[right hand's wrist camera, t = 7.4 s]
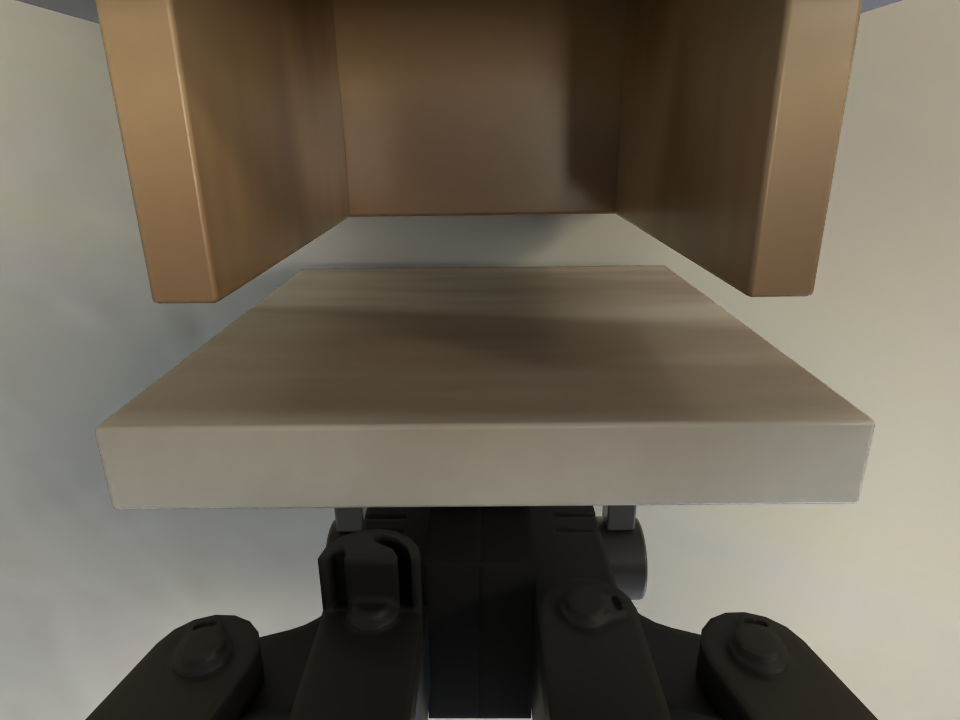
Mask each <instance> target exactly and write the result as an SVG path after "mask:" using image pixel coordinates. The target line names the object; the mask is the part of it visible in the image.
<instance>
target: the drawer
mask: <svg viewBox="0 0 960 720" xmlns="http://www.w3.org/2000/svg"><path fill="white" fill-rule="evenodd" d="M95 1H96V6H97V11H98V17H99V22H100V27H101V32H102V37H103V43H104V48H105V53H106V58H107V63H108V69H109V74H110V79H111V84H112V90H113V95H114V100H115V105H116V110H117V116H118V121H119V126H120V131H121V136H122V142H123V147H124V152H125V157H126V162H127V168H128V173H129V178H130V183H131V188H132V194H133V199H134V204H135V209H136V215H137V220H138V225H139V230H140V235H141V241H142V246H143V251H144V256H145V261H146V267H147V272H148V277H149V282H150V287H151V293H152V298H153V301H154V302H156V303H216V302H218V301H220V300H221V299H223V298H224V297H226V296H227V295H229V294H230V293H232V292H233V291H235V290H237V289H238V288H240V287H241V286H243V285H244V284H246V283H247V282H249V281H251V280H252V279H254V278H255V277H257V276H258V275H260V274H261V273H263V272H264V271H266V270H268V269H269V268H271V267H272V266H274V265H275V264H277V263H278V262H280V261H281V260H283V259H285V258H286V257H288V256H289V255H291V254H292V253H294V252H295V251H297V250H298V249H300V248H302V247H303V246H305V245H306V244H308V243H309V242H311V241H312V240H314V239H315V238H317V237H319V236H320V235H322V234H323V233H325V232H326V231H328V230H329V229H331V228H332V227H334V226H336V225H337V224H339V223H340V222H342V221H343V220H345V219H346V218H348V217H368V216H453V215H537V214H617V215H619V216H621V217H622V218H624V219H625V220H627V221H629V222H630V223H632V224H633V225H635V226H637V227H638V228H640V229H642V230H643V231H645V232H646V233H648V234H650V235H651V236H653V237H654V238H656V239H658V240H659V241H661V242H662V243H664V244H666V245H667V246H669V247H670V248H672V249H674V250H675V251H677V252H678V253H680V254H682V255H683V256H685V257H686V258H688V259H690V260H691V261H693V262H694V263H696V264H698V265H699V266H701V267H702V268H704V269H706V270H707V271H709V272H710V273H712V274H714V275H715V276H717V277H719V278H720V279H722V280H723V281H725V282H727V283H728V284H730V285H731V286H733V287H735V288H736V289H738V290H739V291H741V292H743V293H744V294H746V295H748V296H750V297H781V296H808V295H811V294H812V293H813V289H814V284H815V278H816V272H817V266H818V260H819V254H820V248H821V242H822V236H823V230H824V225H825V219H826V213H827V207H828V201H829V195H830V189H831V183H832V177H833V171H834V166H835V160H836V154H837V148H838V142H839V136H840V130H841V124H842V118H843V113H844V107H845V101H846V95H847V89H848V83H849V77H850V71H851V65H852V59H853V54H854V48H855V42H856V36H857V30H858V24H859V18H860V12H861V6H862V0H95ZM874 427H875V423H874V420H873V419H871V418H870V417H869V416H867V415H866V414H865V413H863V412H862V411H861V410H859V409H858V408H857V407H855V406H854V405H853V404H851V403H850V402H849V401H847V400H846V399H844V398H843V397H842V396H840V395H839V394H838V393H836V392H835V391H834V390H832V389H831V388H830V387H828V386H827V385H826V384H824V383H823V382H822V381H820V380H819V379H817V378H816V377H815V376H813V375H812V374H811V373H809V372H808V371H807V370H805V369H804V368H803V367H801V366H800V365H799V364H797V363H796V362H795V361H793V360H792V359H790V358H789V357H788V356H786V355H785V354H784V353H782V352H781V351H780V350H778V349H777V348H776V347H774V346H773V345H772V344H770V343H769V342H768V341H766V340H765V339H763V338H762V337H761V336H759V335H758V334H757V333H755V332H754V331H753V330H751V329H750V328H749V327H747V326H746V325H745V324H743V323H742V322H741V321H739V320H738V319H736V318H735V317H734V316H732V315H731V314H730V313H728V312H727V311H726V310H724V309H723V308H722V307H720V306H719V305H718V304H716V303H715V302H714V301H712V300H711V299H709V298H708V297H707V296H705V295H704V294H703V293H701V292H700V291H699V290H697V289H696V288H695V287H693V286H692V285H691V284H689V283H688V282H687V281H685V280H684V279H682V278H681V277H680V276H678V275H677V274H676V273H674V272H673V271H672V270H670V269H669V268H668V267H666V266H664V265H656V266H566V267H477V268H388V269H302V270H300V271H299V272H298V273H296V274H295V275H294V276H293V277H291V278H290V279H289V280H287V281H286V282H285V283H283V284H282V285H281V286H280V287H278V288H277V289H276V290H274V291H273V292H272V293H270V294H269V295H268V296H267V297H265V298H264V299H263V300H261V301H260V302H259V303H257V304H256V305H255V306H254V307H252V308H251V309H250V310H248V311H247V312H246V313H244V314H243V315H242V316H241V317H239V318H238V319H237V320H235V321H234V322H233V323H231V324H230V325H229V326H228V327H226V328H225V329H224V330H222V331H221V332H220V333H218V334H217V335H216V336H215V337H213V338H212V339H211V340H209V341H208V342H207V343H205V344H204V345H203V346H201V347H200V348H199V349H198V350H196V351H195V352H194V353H192V354H191V355H190V356H188V357H187V358H186V359H185V360H183V361H182V362H181V363H179V364H178V365H177V366H175V367H174V368H173V369H172V370H170V371H169V372H168V373H166V374H165V375H164V376H162V377H161V378H160V379H159V380H157V381H156V382H155V383H153V384H152V385H151V386H149V387H148V388H147V389H146V390H144V391H143V392H142V393H140V394H139V395H138V396H136V397H135V398H134V399H133V400H131V401H130V402H129V403H127V404H126V405H125V406H123V407H122V408H121V409H120V410H118V411H117V412H116V413H114V414H113V415H112V416H110V417H109V418H108V419H107V420H105V421H104V422H103V423H101V424H100V425H99V426H97V427H96V430H95V434H96V438H97V442H98V446H99V450H100V455H101V459H102V463H103V467H104V471H105V475H106V479H107V484H108V488H109V492H110V496H111V500H112V504H113V507H114V508H115V509H236V508H334V509H335V518H336V520H334V521H333V523H332V525H331V528H330V531H329V534H328V538H327V544H326V547H327V546H328V545H330V544H331V543H332V542H334V541H335V540H337V539H338V538H340V537H342V536H345V535H347V534H350V533H353V532H356V531H360V530H361V527H362V523H363V520H364V519H365V513H366V510H367V507H477V506H597V505H603V513H602V515H603V516H597V517H596V518H597V521H598V524H599V528H600V532H601V535H602V538H603V541H604V545H605V548H606V551H607V555H608V558H609V561H610V565H611V568H612V572H613V575H614V578H615V582H616V585H617V588H618V589H620V590H621V591H622V592H624V593H625V594H626V595H627V596H629V598H630V599H631V600H640V599H642V598H643V597H644V594H645V591H646V586H647V553H646V545H645V540H644V535H643V531H642V528H641V525H640V523H639V521H638V519H637V518H636V517H635V516H636V505H718V504H838V503H856V502H857V501H858V500H859V495H860V491H861V486H862V482H863V477H864V473H865V468H866V463H867V459H868V454H869V450H870V445H871V441H872V436H873V431H874Z"/></svg>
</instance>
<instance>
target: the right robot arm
mask: <svg viewBox="0 0 960 720" xmlns="http://www.w3.org/2000/svg"><path fill="white" fill-rule="evenodd" d="M318 565H319V575H320V584H321V594H322V603H323V613H322V616H320V617H319V618H317V619H315V620H314V621H312V622H310V623H308V624H306V625H303V626H300V627H297V628H294V629H291V630H288V631H284V632H280V633H276V634H272V635H267V636H263V637H259V633H258V631H257V630H256V629H255V627H254V626H253V625H252V624H251V622H250V621H247V620H245V619H242V618H240V617H237V616H235V615H213V616H209V617H205V618H200V619H196V620H193V621H191V622H189V623H187V624H185V625H183V626H181V627H179V628H177V629H175V630H173V631H172V632H171V633H169V634H168V635H167V636H166V637H165V638H163V639H162V640H161V641H160V642H158V643H157V644H156V645H155V646H154V647H153V648H152V649H151V651H150V652H149V653H148V654H147V655H146V656H145V657H144V658H143V659H142V660H141V661H140V662H139V663H138V664H137V665H136V666H135V668H134V669H133V670H132V671H131V672H130V673H129V674H128V675H127V676H126V677H125V678H124V679H123V680H122V681H121V682H120V684H119V685H118V686H117V687H116V688H115V689H114V690H113V691H112V692H111V693H110V694H109V695H108V696H107V697H106V698H105V699H104V701H103V702H102V703H101V704H100V705H99V706H98V707H97V708H96V709H95V710H94V711H93V712H92V713H91V714H90V715H89V716H88V718H87V719H86V720H428V710H429V718H531V708H532V719H533V720H878V719H877V718H876V717H875V716H874V715H873V714H872V713H871V712H870V711H869V710H868V708H867V707H866V706H865V705H864V704H863V703H862V702H861V701H860V700H859V699H858V698H857V697H856V696H855V695H854V694H853V693H852V692H851V691H850V689H849V688H848V687H847V686H846V685H845V684H844V683H843V682H842V681H841V680H840V679H839V678H838V677H837V676H836V675H835V674H834V673H833V672H832V670H831V669H830V668H829V667H828V666H827V665H826V664H825V663H824V662H823V661H822V660H821V659H820V658H819V657H818V656H817V655H816V654H815V653H814V651H813V650H812V649H811V648H810V647H809V646H808V645H807V644H806V643H805V642H804V641H803V640H802V639H801V638H799V637H798V636H797V635H796V634H794V633H793V632H792V631H791V630H789V629H788V628H787V627H785V626H783V625H781V624H779V623H777V622H775V621H773V620H771V619H769V618H767V617H763V616H759V615H754V614H750V613H746V612H737V613H724V614H721V615H719V616H716V617H714V618H711V619H710V620H709V621H708V623H707V624H706V625H705V626H704V628H703V629H702V633H701V635H699V634H695V633H691V632H687V631H683V630H678V629H674V628H670V627H667V626H664V625H661V624H658V623H655V622H653V621H651V620H649V619H647V618H646V617H644V616H642V615H640V614H639V613H638V612H637V609H636V608H635V606H634V604H633V603H632V601H631V599H630V598H629V596H627V595H626V594H625V593H624V592H622V591H621V590H620V589H618V588H617V585H616V582H615V578H614V575H613V572H612V568H611V565H610V561H609V558H608V555H607V551H606V548H605V545H604V541H603V538H602V535H601V532H600V528H599V524H598V521H597V518H596V517H595V511H594V508H593V506H477V507H367V510H366V513H365V519H364V520H363V523H362V527H361V530H360V531H356V532H353V533H350V534H347V535H345V536H342V537H340V538H338V539H337V540H335V541H334V542H332V543H331V544H330V545H328V546H327V547H326V548H325V549H324V551H323V552H322V554H321V555H320V557H319V558H318Z"/></svg>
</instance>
